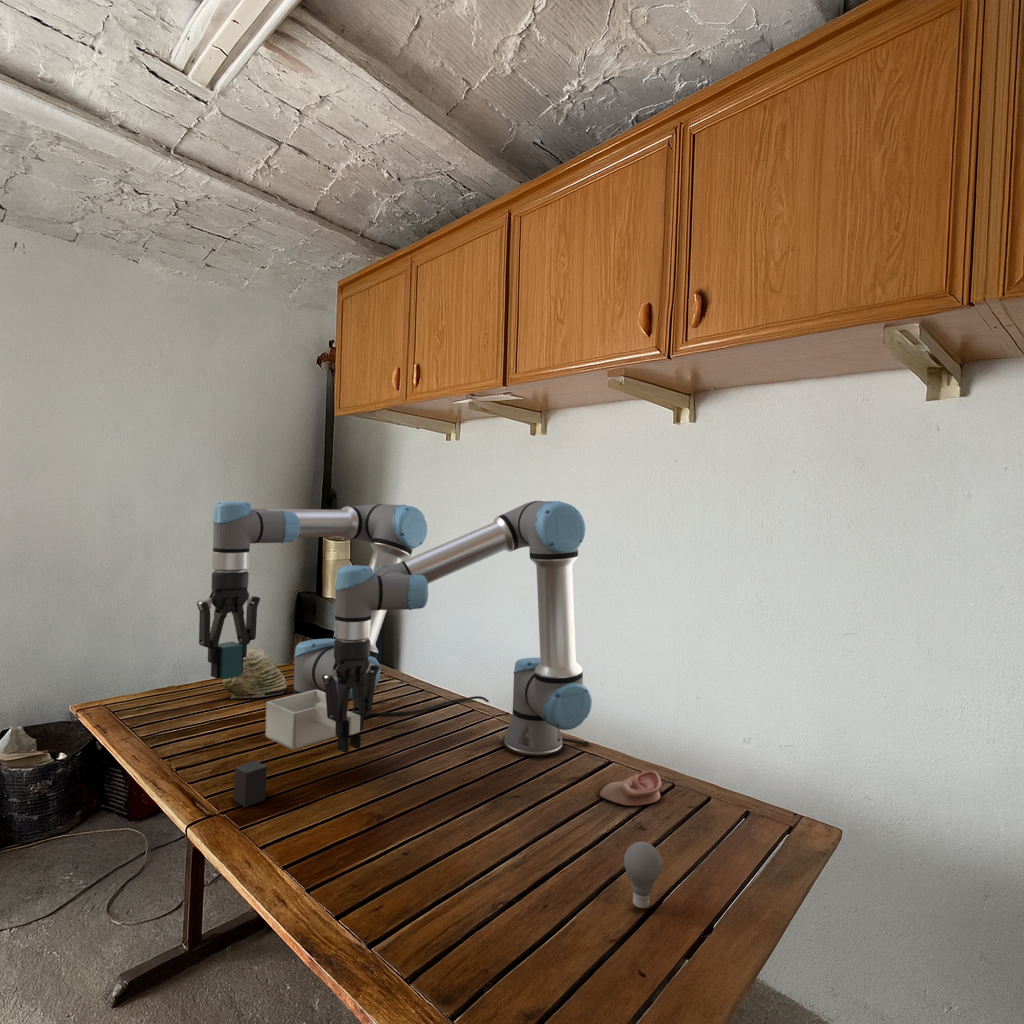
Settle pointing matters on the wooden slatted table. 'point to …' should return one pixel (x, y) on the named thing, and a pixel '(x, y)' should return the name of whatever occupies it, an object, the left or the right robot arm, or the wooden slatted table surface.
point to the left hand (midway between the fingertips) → (226, 674)
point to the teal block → (230, 660)
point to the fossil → (256, 677)
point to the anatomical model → (634, 790)
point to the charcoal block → (250, 783)
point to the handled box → (303, 720)
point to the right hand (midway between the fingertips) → (349, 748)
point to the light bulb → (642, 870)
